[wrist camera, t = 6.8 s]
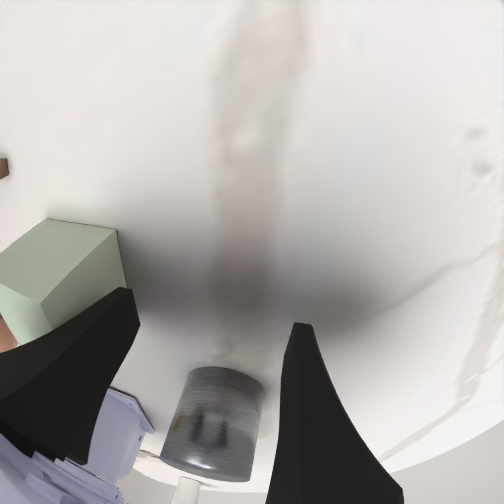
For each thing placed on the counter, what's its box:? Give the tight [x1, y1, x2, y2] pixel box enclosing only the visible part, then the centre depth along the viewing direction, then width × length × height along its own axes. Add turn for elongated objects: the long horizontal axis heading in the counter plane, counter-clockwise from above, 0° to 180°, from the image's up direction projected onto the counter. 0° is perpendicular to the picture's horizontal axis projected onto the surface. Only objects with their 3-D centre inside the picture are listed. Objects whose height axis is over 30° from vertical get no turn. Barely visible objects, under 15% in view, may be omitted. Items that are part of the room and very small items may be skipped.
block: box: [0, 219, 127, 346], centre depth 10 cm, size 5×5×5 cm
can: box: [159, 367, 264, 482], centre depth 13 cm, size 5×5×6 cm
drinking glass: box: [170, 477, 201, 504], centre depth 40 cm, size 7×7×15 cm
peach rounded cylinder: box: [0, 323, 19, 353], centre depth 16 cm, size 4×4×5 cm
